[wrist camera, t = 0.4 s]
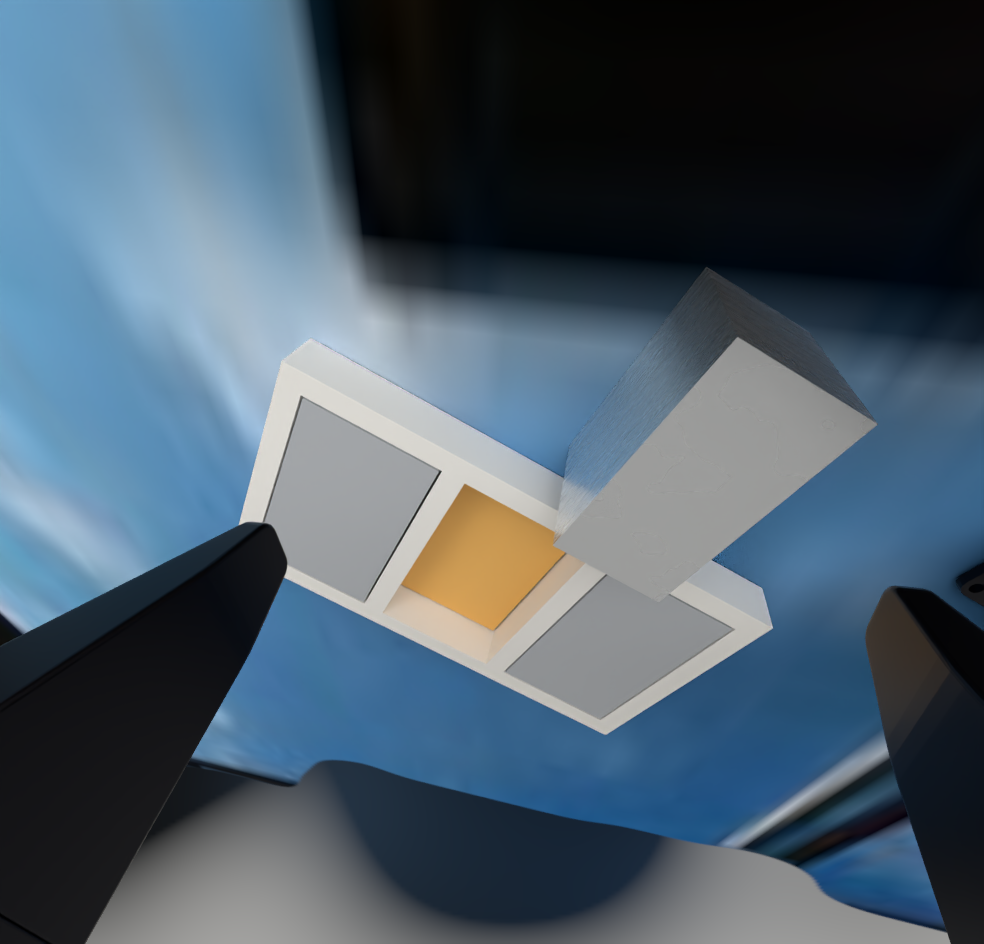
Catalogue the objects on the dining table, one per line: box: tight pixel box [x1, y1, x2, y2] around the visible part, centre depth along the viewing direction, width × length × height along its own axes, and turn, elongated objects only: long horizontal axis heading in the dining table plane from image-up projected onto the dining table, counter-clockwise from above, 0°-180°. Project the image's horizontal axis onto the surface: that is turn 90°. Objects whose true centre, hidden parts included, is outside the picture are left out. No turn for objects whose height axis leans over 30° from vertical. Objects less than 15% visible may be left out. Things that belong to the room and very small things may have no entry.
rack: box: [239, 338, 773, 735], centre depth 25 cm, size 22×12×2 cm, turn 63°
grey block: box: [553, 267, 878, 602], centre depth 17 cm, size 4×8×6 cm, turn 153°
